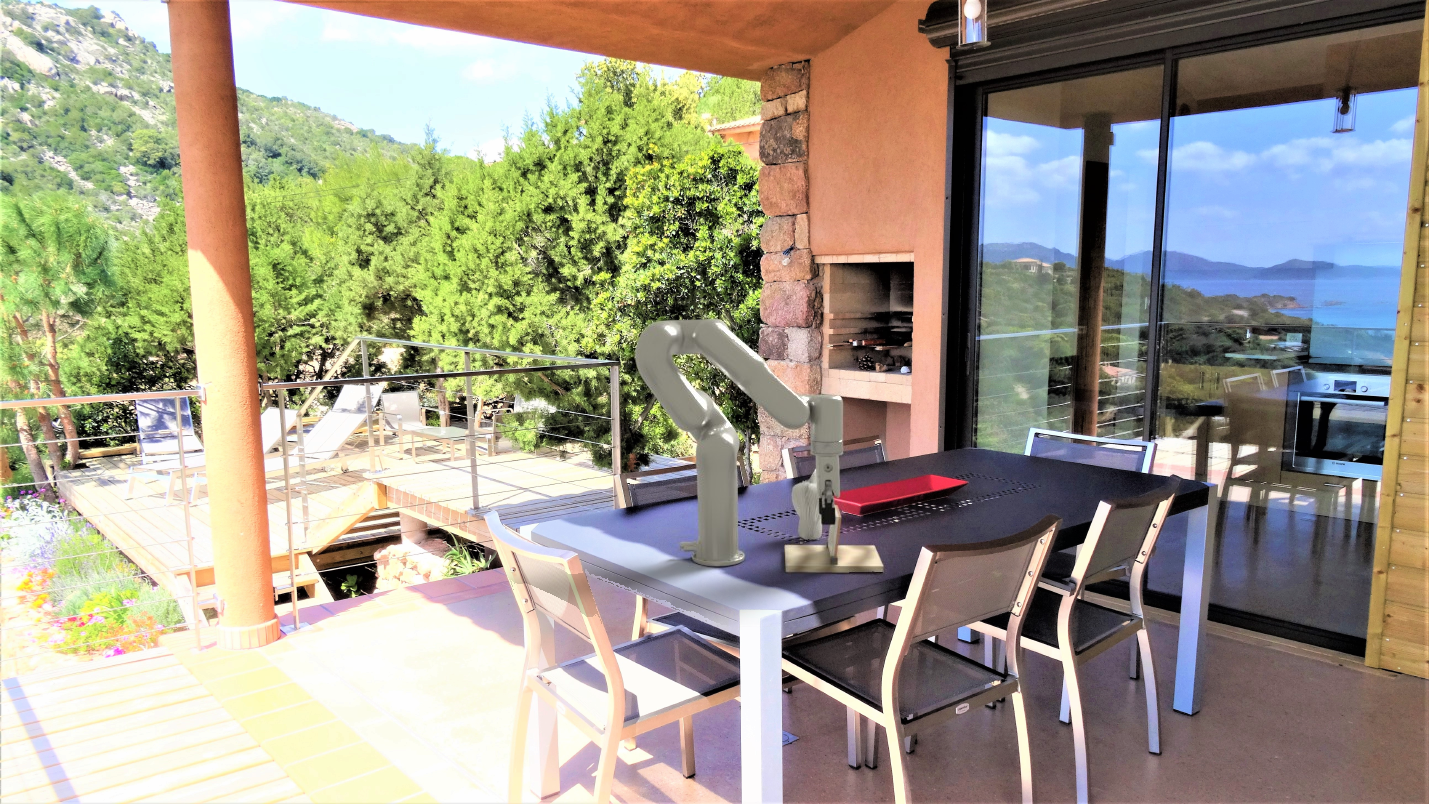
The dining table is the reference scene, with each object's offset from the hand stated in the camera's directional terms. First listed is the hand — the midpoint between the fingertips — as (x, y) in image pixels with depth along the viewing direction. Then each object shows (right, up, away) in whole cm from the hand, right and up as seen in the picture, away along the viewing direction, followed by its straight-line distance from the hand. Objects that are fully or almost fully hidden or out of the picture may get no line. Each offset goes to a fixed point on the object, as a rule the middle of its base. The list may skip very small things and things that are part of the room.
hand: (826, 519), depth 203 cm
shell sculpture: (-1, -8, +21) cm, 23 cm away
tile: (+1, -3, 0) cm, 3 cm away
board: (+1, -10, +1) cm, 10 cm away
